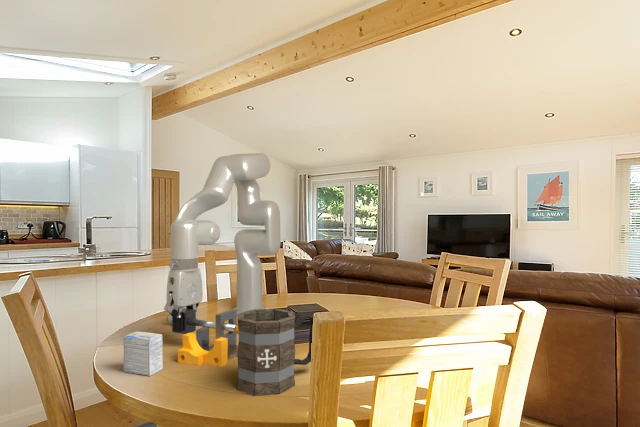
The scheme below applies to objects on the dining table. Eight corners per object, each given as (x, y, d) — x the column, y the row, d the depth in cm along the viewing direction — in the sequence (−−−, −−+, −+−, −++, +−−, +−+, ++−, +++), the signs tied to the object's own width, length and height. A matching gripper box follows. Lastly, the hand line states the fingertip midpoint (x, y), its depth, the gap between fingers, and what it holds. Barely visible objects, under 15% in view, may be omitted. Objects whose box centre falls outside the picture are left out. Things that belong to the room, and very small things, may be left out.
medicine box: (163, 370, 97) (163, 333, 97) (149, 377, 93) (150, 339, 93) (137, 365, 100) (137, 330, 100) (122, 372, 96) (122, 335, 96)
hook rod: (172, 332, 114) (172, 310, 114) (182, 328, 118) (182, 307, 118) (238, 342, 105) (238, 319, 105) (247, 338, 109) (247, 316, 109)
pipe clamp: (177, 362, 102) (177, 337, 102) (189, 357, 106) (189, 332, 106) (216, 370, 98) (216, 343, 98) (227, 363, 102) (227, 338, 102)
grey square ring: (191, 352, 110) (191, 311, 110) (208, 344, 116) (208, 306, 116) (230, 359, 104) (230, 316, 104) (246, 351, 111) (246, 310, 111)
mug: (249, 402, 81) (249, 326, 81) (226, 378, 92) (226, 312, 92) (331, 381, 91) (331, 314, 91) (301, 362, 103) (301, 303, 103)
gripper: (172, 269, 106) (172, 339, 106) (213, 262, 121) (213, 323, 121) (151, 267, 109) (151, 335, 109) (194, 261, 124) (194, 320, 124)
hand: (184, 328), depth 115 cm, fingers closed on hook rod, 4 cm apart
